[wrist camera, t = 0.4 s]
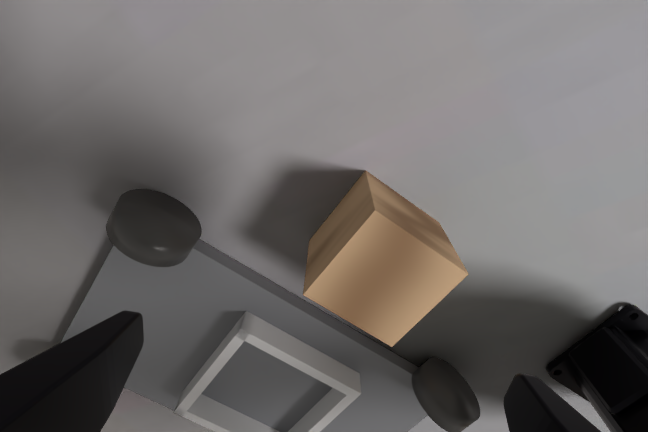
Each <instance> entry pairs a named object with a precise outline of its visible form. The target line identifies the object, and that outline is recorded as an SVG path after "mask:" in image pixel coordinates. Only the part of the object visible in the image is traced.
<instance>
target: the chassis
mask: <svg viewBox="0 0 648 432" xmlns="http://www.w3.org/2000/svg"><path fill="white" fill-rule="evenodd" d="M106 231H107V235H108V237H109V239H110V241H111V242H112V244H113V245H114V246H113V247H112V249H111V251H110V253H109V255H108V257H107V258H106V260H105V262H104V264H103V266H102V268H101V269H100V271H99V273H98V275H97V277H96V279H95V280H94V282H93V284H92V286H91V288H90V290H89V291H88V293H87V295H86V297H85V299H84V301H83V302H82V304H81V306H80V308H79V310H78V312H77V313H76V315H75V317H74V319H73V321H72V323H71V324H70V326H69V328H68V330H67V332H66V333H65V335H64V337H63V339H62V341H61V343H62V342H63V341H65V340H67V339H69V338H71V337H73V336H75V335H77V334H79V333H81V332H83V331H85V330H86V329H88V328H90V327H92V326H94V325H96V324H98V323H100V322H102V321H104V320H106V319H107V318H109V317H111V316H113V315H115V314H117V313H119V312H121V311H124V310H127V311H133V312H139V313H141V314H142V316H143V330H144V343H143V347H142V350H141V352H140V354H139V356H138V358H137V360H136V362H135V365H134V367H133V369H132V371H131V373H130V375H129V377H128V379H127V382H126V384H125V386H124V388H126V389H129V390H131V391H133V392H135V393H137V394H139V395H142V396H144V397H146V398H148V399H150V400H152V401H155V402H157V403H159V404H161V405H163V406H165V407H168V408H170V409H172V410H174V412H173V413H175V414H178V415H180V416H182V417H184V418H186V419H188V420H191V421H193V422H195V423H197V424H199V425H201V426H204V427H206V428H208V429H210V430H212V431H215V432H408V431H409V430H410V429H411V428H413V427H414V426H415V425H416V424H417V423H419V422H420V421H421V420H422V419H424V418H425V417H426V416H427V415H428V416H429V417H430V418H431V419H432V420H433V421H434V422H435V423H436V424H437V425H439V426H440V427H441V428H443V429H444V430H446V431H448V432H461V431H462V430H464V429H465V428H466V427H468V426H469V425H470V424H472V423H473V422H474V421H476V420H477V419H478V418H479V417H480V407H479V403H478V401H477V398H476V396H475V394H474V392H473V391H472V389H471V388H470V386H469V385H468V383H467V382H466V381H465V379H464V378H463V377H462V376H461V375H460V374H459V373H458V372H457V371H456V370H455V369H454V368H453V367H452V366H451V365H450V364H448V363H447V362H445V361H444V360H442V359H439V358H436V357H432V358H430V359H428V360H427V361H426V362H425V363H424V364H423V365H422V366H421V367H417V366H416V365H414V364H412V363H410V362H409V361H407V360H405V359H404V358H402V357H400V356H398V355H397V354H395V353H393V352H392V351H390V350H388V349H386V348H385V347H383V346H381V345H380V344H378V343H376V342H374V341H373V340H371V339H369V338H368V337H366V336H364V335H362V334H361V333H359V332H357V331H356V330H354V329H352V328H350V327H349V326H347V325H345V324H344V323H342V322H340V321H338V320H337V319H335V318H333V317H332V316H330V315H328V314H327V313H325V312H323V311H321V310H320V309H318V308H316V307H315V306H313V305H311V304H309V303H308V302H306V301H304V300H303V299H301V298H299V297H297V296H296V295H294V294H292V293H291V292H289V291H287V290H285V289H284V288H282V287H280V286H279V285H277V284H275V283H273V282H272V281H270V280H268V279H267V278H265V277H263V276H261V275H260V274H258V273H256V272H255V271H253V270H251V269H250V268H248V267H246V266H244V265H243V264H241V263H239V262H238V261H236V260H234V259H232V258H231V257H229V256H227V255H226V254H224V253H222V252H220V251H219V250H217V249H215V248H214V247H212V246H210V245H208V244H207V243H205V242H203V241H202V240H200V239H199V238H200V236H201V225H200V223H199V221H198V219H197V217H196V216H195V215H194V213H193V212H192V211H191V210H190V209H189V208H187V207H186V206H185V205H184V204H182V203H181V202H179V201H178V200H176V199H174V198H172V197H170V196H168V195H166V194H163V193H160V192H157V191H152V190H146V189H136V190H130V191H128V192H126V193H124V194H123V195H122V196H121V197H120V198H119V200H118V202H117V204H116V206H115V208H114V210H113V212H112V214H111V216H110V217H109V219H108V221H107V224H106Z"/></svg>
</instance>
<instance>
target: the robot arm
mask: <svg viewBox="0 0 648 432" xmlns="http://www.w3.org/2000/svg"><path fill="white" fill-rule="evenodd" d="M143 343H144V330H143V316H142V314H141V313H139V312H133V311H127V310H124V311H121V312H119V313H117V314H115V315H113V316H111V317H109V318H107V319H106V320H104V321H102V322H100V323H98V324H96V325H94V326H92V327H90V328H88V329H86V330H85V331H83V332H81V333H79V334H77V335H75V336H73V337H71V338H69V339H67V340H65V341H63V342H62V343H60V344H58V345H56V346H54V347H52V348H50V349H48V350H46V351H44V352H42V353H41V354H39V355H37V356H35V357H33V358H31V359H29V360H27V361H25V362H23V363H21V364H19V365H18V366H16V367H14V368H12V369H10V370H8V371H6V372H4V373H2V374H0V432H100V431H101V430H102V428H103V426H104V425H105V423H106V421H107V419H108V418H109V416H110V414H111V412H112V411H113V409H114V407H115V405H116V403H117V401H118V398H119V396H120V394H121V392H122V390H123V388H124V386H125V384H126V382H127V379H128V377H129V375H130V373H131V371H132V369H133V367H134V365H135V362H136V360H137V358H138V356H139V354H140V352H141V350H142V347H143ZM546 371H547V372H548V374H549V375H550V376H551V377H552V378H553V379H555V380H556V381H558V382H559V383H561V384H563V385H564V386H566V387H567V388H569V389H570V390H572V391H573V392H575V393H577V394H578V395H580V396H581V397H583V398H584V399H586V400H587V401H589V402H590V403H591V404H592V406H593V407H594V409H595V410H596V411H597V413H598V414H599V416H600V417H601V419H602V420H603V421H604V423H605V424H606V426H607V427H608V428H609V430H610V431H611V432H648V315H647V314H646V313H644V312H643V311H642V310H640V309H639V308H638V307H636V306H634V305H629V306H626V307H624V308H623V309H621V310H620V311H619V312H617V313H616V314H615V315H613V316H612V317H611V318H609V319H608V320H607V321H605V322H604V323H603V324H601V325H600V326H599V327H598V328H596V329H595V330H594V331H592V332H591V333H590V334H588V335H587V336H586V337H584V338H583V339H582V340H580V341H579V342H578V343H576V344H575V345H574V346H572V347H571V348H570V349H568V350H567V351H566V352H564V353H563V354H562V355H560V356H559V357H558V358H556V359H555V360H554V361H552V362H551V363H550V364H549V365H548V366H547V367H546ZM504 409H505V414H506V418H507V423H508V427H509V431H510V432H601V431H600V430H599V429H597V428H596V427H595V426H594V425H593V424H592V423H590V422H589V421H588V420H587V419H586V418H585V417H583V416H582V415H581V414H580V413H579V412H577V411H576V410H575V409H574V408H573V407H572V406H570V405H569V404H568V403H567V402H566V401H565V400H563V399H562V398H561V397H560V396H559V395H558V394H556V393H555V392H554V391H553V390H552V389H551V388H549V387H548V386H547V385H546V384H545V383H544V382H542V381H541V380H540V379H539V378H538V377H536V376H534V375H529V374H522V373H519V374H517V375H515V377H514V378H513V381H512V383H511V385H510V387H509V389H508V391H507V393H506V395H505V397H504Z"/></svg>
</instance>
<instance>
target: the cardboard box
mask: <svg viewBox="0 0 648 432" xmlns="http://www.w3.org/2000/svg"><path fill="white" fill-rule="evenodd" d="M467 275H468V272H467V270H466V269H465V267H464V265H463V263H462V262H461V260H460V258H459V256H458V255H457V253H456V251H455V249H454V248H453V246H452V244H451V242H450V241H449V239H448V237H447V235H446V234H445V232H444V230H443V229H442V227H441V225H440V223H439V222H437V221H436V220H435V219H433V218H432V217H430V216H429V215H428V214H426V213H425V212H423V211H422V210H421V209H419V208H418V207H416V206H415V205H414V204H412V203H411V202H409V201H408V200H407V199H405V198H404V197H402V196H401V195H400V194H398V193H397V192H395V191H394V190H392V189H391V188H390V187H388V186H387V185H385V184H384V183H383V182H381V181H380V180H378V179H377V178H376V177H374V176H373V175H371V174H370V173H369V172H367V171H366V170H365V172H364V173H363V174H362V175H361V177H360V178H359V179H358V180H357V182H356V183H355V184H354V185H353V187H352V188H351V189H350V190H349V192H348V193H347V194H346V195H345V197H344V198H343V199H342V200H341V202H340V203H339V204H338V205H337V207H336V208H335V209H334V210H333V212H332V213H331V214H330V215H329V217H328V218H327V219H326V220H325V222H324V223H323V224H322V225H321V227H320V228H319V229H318V230H317V232H316V233H315V234H314V235H313V237H312V238H311V239H310V240H309V248H308V256H307V265H306V274H305V282H304V291H303V295H304V296H306V297H308V298H309V299H311V300H313V301H314V302H316V303H318V304H319V305H321V306H323V307H325V308H326V309H328V310H330V311H331V312H333V313H335V314H336V315H338V316H340V317H342V318H343V319H345V320H347V321H348V322H350V323H352V324H353V325H355V326H357V327H359V328H360V329H362V330H364V331H365V332H367V333H369V334H370V335H372V336H374V337H375V338H377V339H379V340H381V341H382V342H384V343H386V344H387V345H389V346H391V347H393V346H394V345H395V344H396V343H397V342H398V341H399V340H400V339H401V338H402V337H403V336H404V335H405V334H406V333H407V332H408V331H409V330H410V329H411V328H413V327H414V326H415V325H416V324H417V323H418V322H419V321H420V320H421V319H422V318H423V317H424V316H425V315H426V314H427V313H428V312H429V311H430V310H431V309H433V308H434V307H435V306H436V305H437V304H438V303H439V302H440V301H441V300H442V299H443V298H444V297H445V296H446V295H447V294H448V293H449V292H450V291H452V290H453V289H454V288H455V287H456V286H457V285H458V284H459V283H460V282H461V281H462V280H463V279H464V278H465V277H466V276H467Z"/></svg>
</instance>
